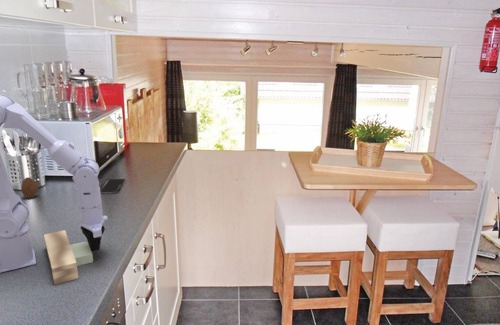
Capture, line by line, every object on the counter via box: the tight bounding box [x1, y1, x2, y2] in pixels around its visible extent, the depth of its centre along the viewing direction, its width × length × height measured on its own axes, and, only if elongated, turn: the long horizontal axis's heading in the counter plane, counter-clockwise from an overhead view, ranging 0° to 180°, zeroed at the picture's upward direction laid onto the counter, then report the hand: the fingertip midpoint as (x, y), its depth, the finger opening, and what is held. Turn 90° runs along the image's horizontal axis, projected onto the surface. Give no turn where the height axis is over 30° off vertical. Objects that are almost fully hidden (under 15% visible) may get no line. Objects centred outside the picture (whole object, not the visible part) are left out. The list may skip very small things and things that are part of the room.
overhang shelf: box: [43, 230, 79, 286], centre depth 106 cm, size 6×20×4 cm, turn 31°
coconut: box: [20, 177, 39, 199], centre depth 147 cm, size 5×5×8 cm
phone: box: [100, 178, 127, 195], centre depth 160 cm, size 8×1×15 cm
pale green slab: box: [70, 240, 94, 267], centre depth 108 cm, size 7×8×2 cm
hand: (95, 249), depth 110 cm, fingers closed, pressing on pale green slab
